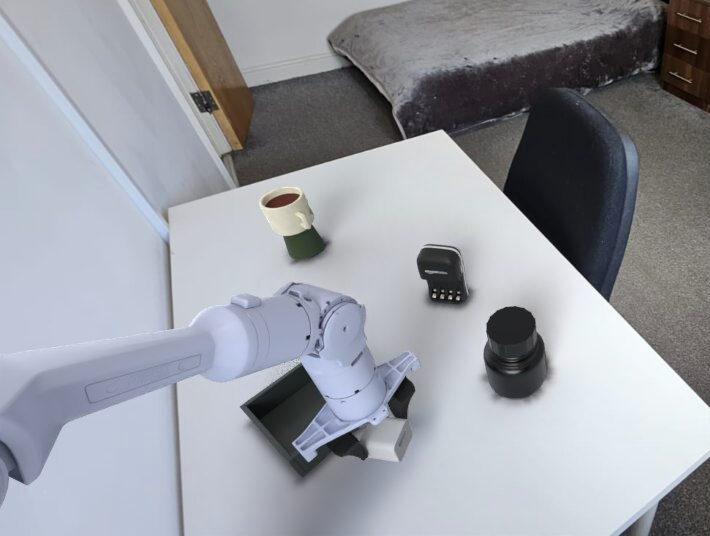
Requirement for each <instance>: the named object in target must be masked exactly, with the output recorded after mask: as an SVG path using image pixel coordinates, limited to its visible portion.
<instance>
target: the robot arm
mask: <svg viewBox="0 0 710 536" xmlns="http://www.w3.org/2000/svg"><path fill="white" fill-rule="evenodd" d="M366 320H367V309H366V306H365V304H360V303H358V301H357V300H356V299H355V298H354V297H352V296H349V295H347V294H342V293H339V292H336V291H333V290H330V289H327V288H323V287H320V286H316V285H313V284H309V283H304V282H295V281H290V282H287V283H285V284H284V285H282V286H281V287H279V288H278V289H277V290H276V291H275V292H274V293H273V294H272V295H271V296H265V297H259V296H255V295H252V294H249V293H246V292H245V293H240V294H239V293H238V294H233V295H231V297H230V302H229V303H223V304H217V305H211V306H208V307H205V308H204V309H202V310H201V311H199V312H198V313H197V314H196V315H195V316H194V317H193V318H192V320H191V321H190V322H189V324H188V326H184V327H177V328H171V329H165V330H158V331H152V332H144V333H137V334H131V335H124V336H119V337H112V338H111V337H110V338H104V339H97V340H91V341H84V342H77V343H71V344H64V345H58V346H51V347H45V348H37V349H31V350H24V351H18V352H11V353H3V354H0V508H1V507H2V506H3V504H4V501H5V499H6V496H7V492H8V490H9V482H10V479H13V480H14V481H17V482H19V483H20V484H23V485H25V486H30V485H31V484H33V482H35V481H36V480H37V479H38V478H39V477H40V475H41V473H42V471H43V470H44V467H45V465H46V463H47V461H48V459H49V457H50V454H51V453H52V450H53V448H54V446H55V444H56V441H57V439H58V438H59V435H60V433H61V431H62V429H63V428H64V426H66V424H68V423H70V422H73V421H75V420H78V419H80V418H83V417H87V416H90V415H91V414H94V413H97V412H100V411H102V410H105V409H108V408H110V407H113V406H116V405H119V404H121V403H124V402H127V401H129V400H133V399H134V398H135V399H136V398H138V397H141V396H144V395H145V394H149V393H151V392H154V391H157V390H159V389H163V388H166V387H168V386H171V385H174V384H177V383H179V382H182V381H184V380H187V379H190V378H192V377H195V376H199V375H200V376H201V377H203V378H205V379H206V380H208V381H210V382H214V383H227V382H231V381H234V380H236V379H241V378H243V377H246V376H249V375H252V374H255V373H258V372H261V371H264V370H267V369H270V368H272V367H276V366H279V365H282V364H285V363H288V362H291V361H294V360H297V359H298V360H299V361H300V363H302V365H303V366H304V368H305V369H306V371H307V372H308V374H309V376H310V377H311V379H312V380H313V382H314V383H315V385H316V386H317V388H318V389H319V391H320V393H321V394H322V396H323V397H324V399H325V400H326V402H327V403H326V404H325V405H324V406H323V408H322V409H321V410H320V412H319V413H318V414H317V416H316V417H315V418H314V420H313V421H312V422H311V423H310V425H309V426H308V427H307V429H306V430H305V431H304V432H303V433H302V434H301V435H300V436H299V437H298V438H297V439H296V440H295V441H294V442H292V444H293V445H294V446H295V448H296V449H297V450H298V451H299V452H300V453H301V455H302V456H303V457H304V458H305V459H306V460H307V461H308V462H310V461H311V460H312V459H313V458H314V457H316V456H317V452H316V449H317V448H319V447H320V446H322V445H323V444H325V445H326V446H327V447H328V448H329V449H330V450H331V451H332V452H331V453H333V454H334V455H335V456H337V457H339V458H344V457H347V456H348V457H349V456H350V457H355V458H358V459H360V460H361V461H362V462H364V461H366V460H367V459H369V458H368V455H367V454H366V452H365V451H364V450H363V449H362V448H361V445H360V442H359V441H360V439H358V438H357V437H356V436H355V435H354V434H353V433H351V432H350V431H351V430H353V429H355V428H357V427H359V426H361V425H366V424H368V422H370V423H371V424H372V425H377V424H379V423H380V422H381V421H382V420H383V419H384V418H385V417H389V414H390V412H391V415H392V417H394V418H401V419H408V416H409V415H408V413H409V412H408V411H409V407H410V402H411V400H412V398H413V396H414V395H415V393H416V386H415V384H414V382H413V381H411V380H410V379H409V378H408V377H407V374H408V373H409V372H410V371H411V372H416V371H417V370H418V369H419V368H420V367H421V364H420V361H419V358H418V356H417V355H415V354H414V353H413V352H411V351H410V350H409V349H405V350H404V351H403V352H401V353H399V354H398V355H396V356H395V357H392V358H390V359H388V360H386V361H384V362H381V363H379V364H376V361H375V359H374V357H373V355H372V353H371V351H370V348H369V346H368V344H367V340H368V338H367V335H366V333H365V327H366V326H365V325H366Z"/></svg>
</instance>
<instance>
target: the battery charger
mask: <svg viewBox="0 0 710 536" xmlns="http://www.w3.org/2000/svg"><path fill="white" fill-rule="evenodd" d="M416 267H417V271H418V274H419V278H420V279H421V280H422V281H426V284H427V289H428V296H429V299H430V301H432V302H435V303H445V304H453V305H454V304H455V305H459V304H460V305H461V304H462V303H464V302H466V300H467V298H468V297H469V293H470V291H469V287H468V281H467V276H466V269H465V264H464V258H463V255H462V253H461V251H460V249H459V248H458V247H456V246H454V245H453V246H452V245H445V244H434V243H427V244H424V245H423V246H422V247H421V248H420V249H419V253H418V255H417V257H416Z"/></svg>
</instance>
